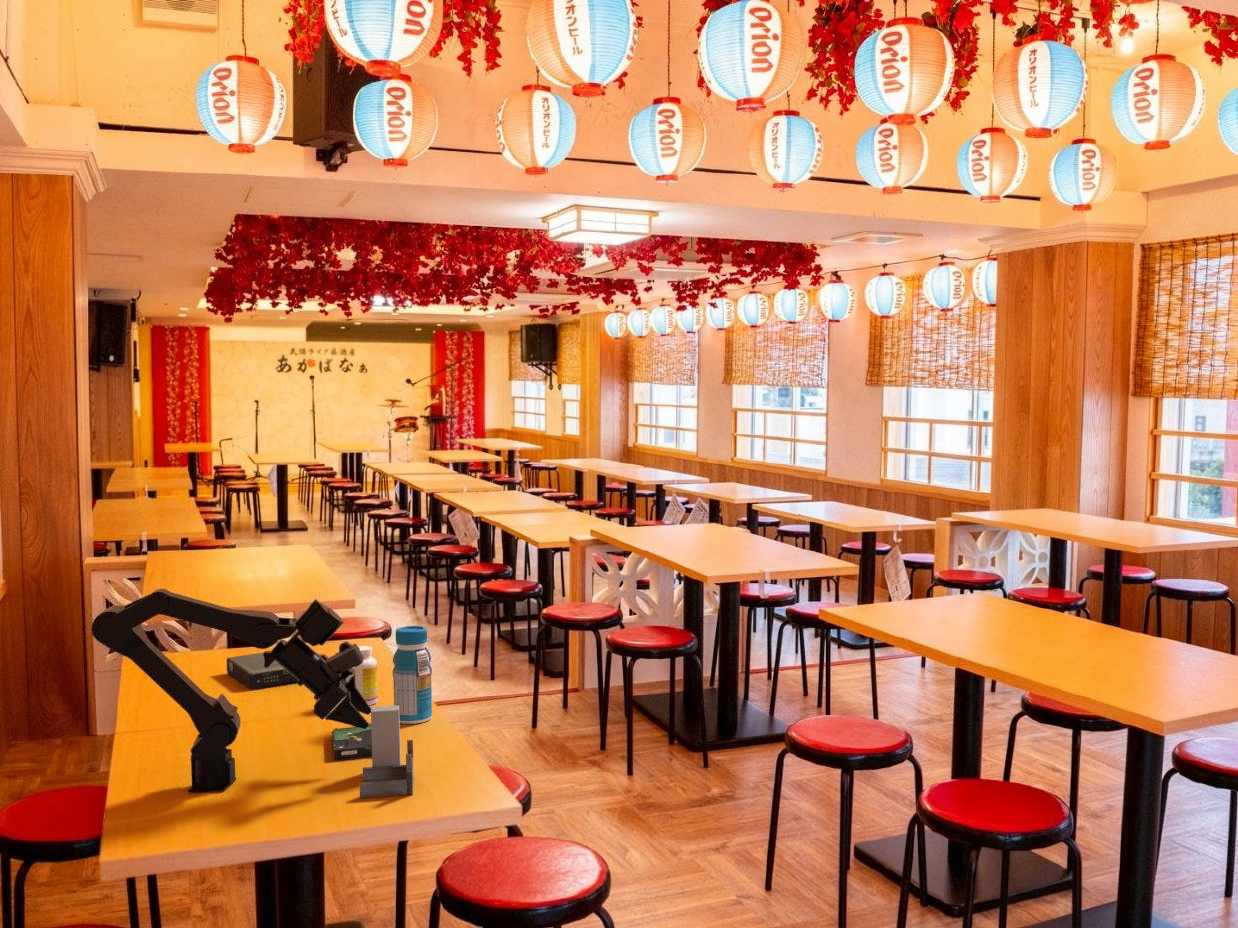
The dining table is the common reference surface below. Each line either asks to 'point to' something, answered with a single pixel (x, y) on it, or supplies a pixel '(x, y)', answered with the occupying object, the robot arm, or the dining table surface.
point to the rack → (389, 778)
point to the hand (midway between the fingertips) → (368, 719)
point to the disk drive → (352, 743)
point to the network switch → (257, 671)
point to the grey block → (385, 736)
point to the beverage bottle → (412, 675)
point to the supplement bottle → (367, 676)
